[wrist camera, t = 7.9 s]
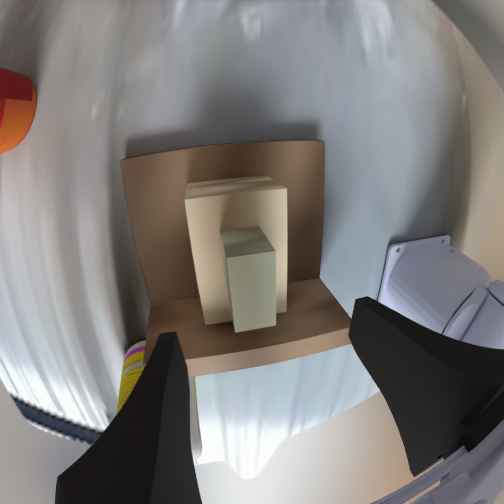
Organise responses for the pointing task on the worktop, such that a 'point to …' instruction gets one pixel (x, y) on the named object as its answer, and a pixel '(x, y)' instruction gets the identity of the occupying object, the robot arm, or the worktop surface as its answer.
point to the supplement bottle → (131, 375)
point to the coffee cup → (15, 108)
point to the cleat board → (182, 264)
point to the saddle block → (239, 249)
